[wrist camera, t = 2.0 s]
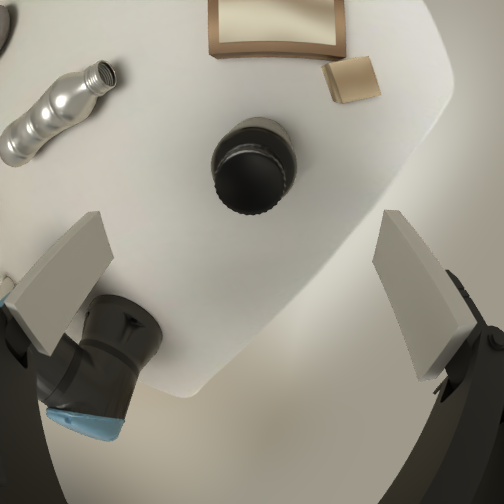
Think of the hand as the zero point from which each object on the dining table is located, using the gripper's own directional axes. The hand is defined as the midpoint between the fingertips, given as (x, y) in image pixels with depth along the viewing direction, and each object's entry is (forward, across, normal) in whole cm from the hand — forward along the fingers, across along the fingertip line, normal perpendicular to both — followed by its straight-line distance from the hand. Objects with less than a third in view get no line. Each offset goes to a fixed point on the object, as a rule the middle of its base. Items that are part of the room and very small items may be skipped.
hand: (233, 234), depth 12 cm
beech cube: (+19, -9, -8) cm, 23 cm away
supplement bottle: (+19, 0, 0) cm, 19 cm away
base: (+19, -2, -16) cm, 25 cm away
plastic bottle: (+16, +34, -5) cm, 38 cm away
